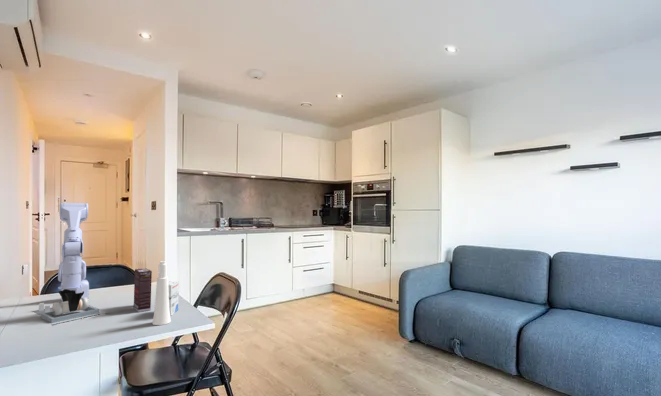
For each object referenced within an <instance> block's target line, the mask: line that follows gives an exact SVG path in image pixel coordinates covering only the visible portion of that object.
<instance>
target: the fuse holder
mask: <svg viewBox="0 0 661 396" xmlns="http://www.w3.org/2000/svg"><path fill="white" fill-rule="evenodd" d="M51 311H52V307H51V305H50V304H49V305H45V302H41V303H38V309H36V310H32V313H35V314H37V315H39V316H41V313H46V312H51Z"/></svg>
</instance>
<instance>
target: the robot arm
mask: <svg viewBox="0 0 661 396" xmlns="http://www.w3.org/2000/svg"><path fill="white" fill-rule="evenodd" d="M88 216H89V203H87V202H61V203H59V218H60V221H61V222H65V223H66V225H67V228H66V229H65V230H64V233H63V243H62V244H61V259H62V261H61V262H60V263H59V264H58V269H57V270H58V271H57V274H58V275H57V281H58V282H61V283H60V286H58V287H57V289H58V290H59V291H58V294H59V295H60V299H61V300H60V302H65V301H68V305H69V311H70V312H69V313H72V312H71V311H74V312H77V311H76V310H77V308H78V305H79V302H80V299H81V298H83V297H87V299H88V300H89V298H90V297H89V295H90V282H89V281H88V280H87V279H86V278H87V264H86V263H87V262H86V261H85V260H83V256H84V242H83V230H82V229H81V228H80V226H81V224H82V222H85V221H87V219H88Z"/></svg>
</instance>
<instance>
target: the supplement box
mask: <svg viewBox="0 0 661 396" xmlns="http://www.w3.org/2000/svg"><path fill="white" fill-rule="evenodd" d="M152 274H153V272H152V270H150V269H148V268H145V267H144V268H136V269H134V283H133V284H134V286H133V287H134V288H133V309H134V310H136V312H138V313H140V312H141V313H142V312H146V311H147V312H148V311H151V310H152V309H151V307H152V306H151V305H152Z"/></svg>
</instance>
